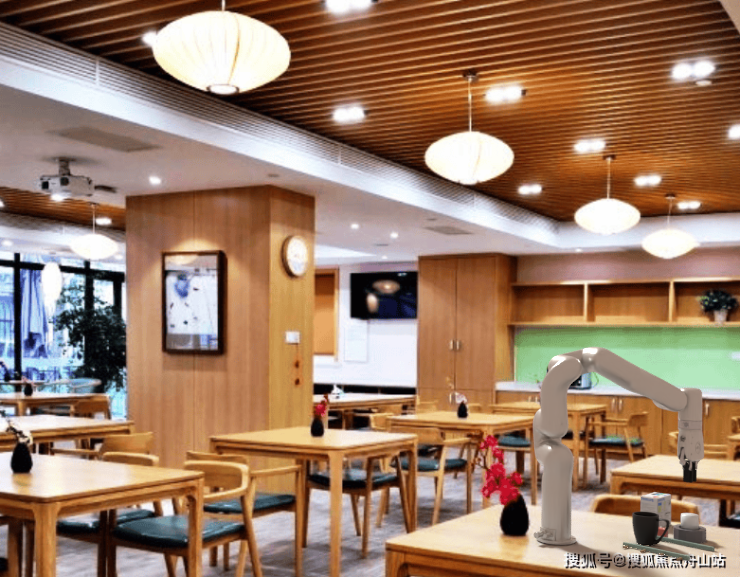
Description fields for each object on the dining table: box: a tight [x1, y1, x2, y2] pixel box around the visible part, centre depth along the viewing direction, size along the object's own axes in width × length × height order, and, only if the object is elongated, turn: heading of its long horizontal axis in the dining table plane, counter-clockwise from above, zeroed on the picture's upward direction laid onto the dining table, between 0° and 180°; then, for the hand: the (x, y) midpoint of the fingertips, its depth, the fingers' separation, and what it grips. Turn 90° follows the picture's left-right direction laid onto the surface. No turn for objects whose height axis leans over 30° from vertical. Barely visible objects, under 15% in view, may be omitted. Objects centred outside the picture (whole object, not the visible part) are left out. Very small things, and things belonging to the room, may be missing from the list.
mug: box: [631, 510, 671, 547], centre depth 287 cm, size 8×12×10 cm
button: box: [680, 512, 700, 530], centre depth 294 cm, size 6×6×5 cm
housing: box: [672, 523, 707, 545], centre depth 294 cm, size 10×10×4 cm
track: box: [622, 536, 715, 562], centre depth 282 cm, size 20×22×1 cm
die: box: [657, 527, 669, 538], centre depth 297 cm, size 3×3×3 cm
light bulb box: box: [640, 491, 672, 528], centre depth 315 cm, size 11×7×11 cm, turn 136°
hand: (689, 481), depth 295 cm, fingers closed
